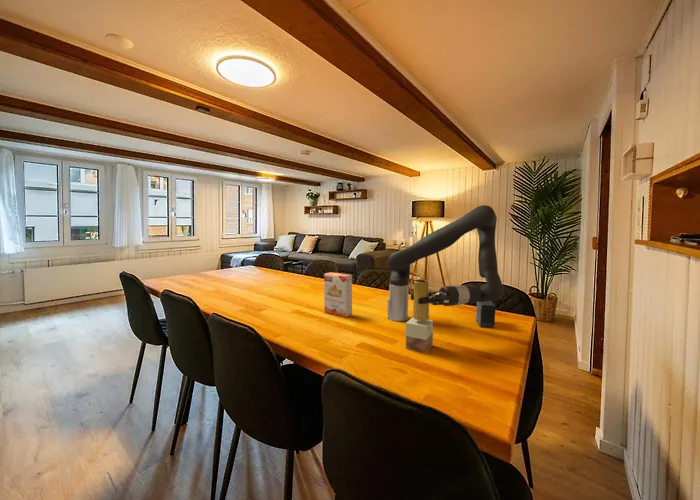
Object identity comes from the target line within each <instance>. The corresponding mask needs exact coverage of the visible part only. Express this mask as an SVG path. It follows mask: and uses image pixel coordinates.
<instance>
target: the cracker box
mask: <svg viewBox="0 0 700 500" xmlns="http://www.w3.org/2000/svg"><path fill="white" fill-rule="evenodd" d="M323 279H324V280H323V281H324V282H323V283H324V286H323V287H324V289H323V290H324V292H323V293H324V313H326V314H331V315H335V316H340V317H344V318H347V317H349V316H351V315H353V275H352V274H346V273H340V272H331V271H329V272H326V273H324V275H323Z"/></svg>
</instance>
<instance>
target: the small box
mask: <svg viewBox="0 0 700 500" xmlns="http://www.w3.org/2000/svg"><path fill="white" fill-rule="evenodd" d="M496 308H497V306H496V305H495V303H494V302H493V301H483V302H476V311H475V313H476V314H475V321H476V323H477V325H478V326H479V327H480V328H489V329H495V326H496V325H495V322H496Z"/></svg>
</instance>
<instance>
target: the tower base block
mask: <svg viewBox="0 0 700 500" xmlns="http://www.w3.org/2000/svg"><path fill="white" fill-rule="evenodd" d="M433 341H434V333H432V334H431V335H430V337H429V338H428V339H427V340H424V339H419V338H414V337H409V336H406V335H405V349H407V350H412V351H414V352H415V351H416V352H419V353H420V352H421V353H427V354H428V353H429V351H430V349H431V348H432V347H433V344H434V343H433Z"/></svg>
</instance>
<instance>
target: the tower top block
mask: <svg viewBox="0 0 700 500" xmlns="http://www.w3.org/2000/svg"><path fill="white" fill-rule="evenodd" d="M433 327H434V321H433V320H432V319H428V320H416V319H414V318H413V316H412V317H411V318H410V319H409V320H408V321H405V337H406V336H409V337H414V338H419V339H424V340H427V339H428V338H429V337H430V335H431V334H432V333H433ZM433 334H434V333H433Z"/></svg>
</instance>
